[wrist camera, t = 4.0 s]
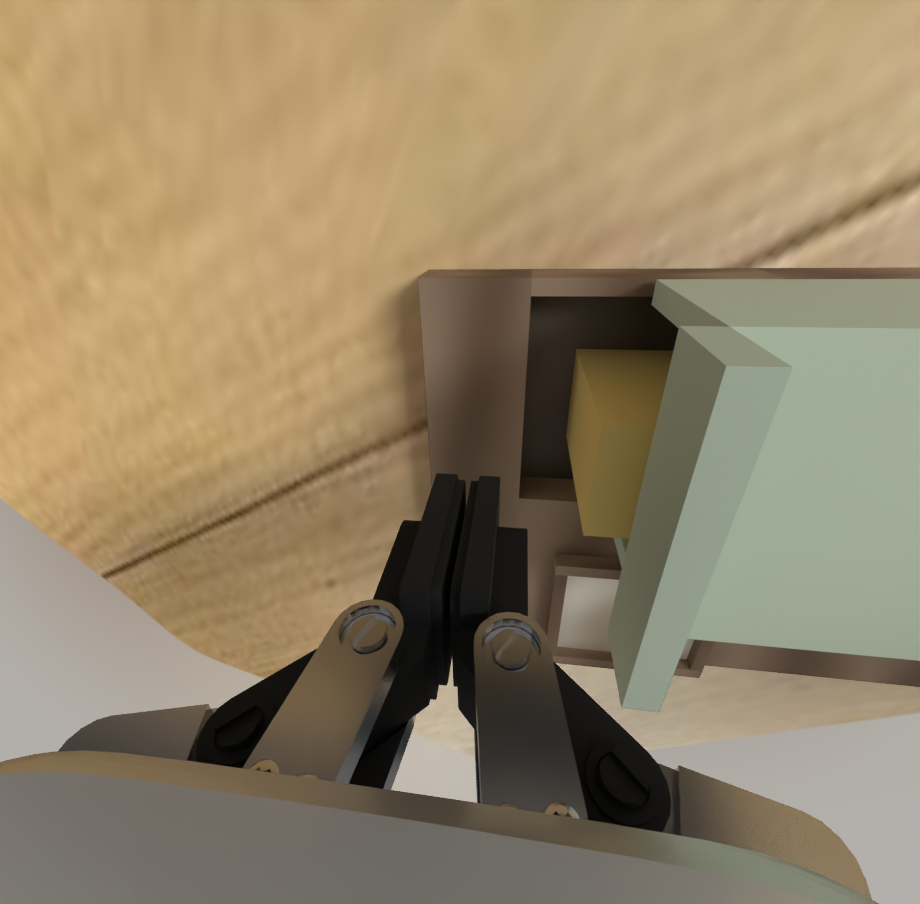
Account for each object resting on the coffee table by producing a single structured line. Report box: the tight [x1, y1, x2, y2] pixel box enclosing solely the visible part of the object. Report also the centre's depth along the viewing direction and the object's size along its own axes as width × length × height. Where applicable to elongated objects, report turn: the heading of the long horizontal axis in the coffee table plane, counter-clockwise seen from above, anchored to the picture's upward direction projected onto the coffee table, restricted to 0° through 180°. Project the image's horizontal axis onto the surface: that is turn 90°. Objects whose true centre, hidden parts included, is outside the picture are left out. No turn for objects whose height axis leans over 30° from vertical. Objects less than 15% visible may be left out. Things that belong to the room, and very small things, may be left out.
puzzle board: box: [418, 268, 920, 687], centre depth 19 cm, size 26×20×3 cm
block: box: [566, 349, 673, 539], centre depth 15 cm, size 4×4×7 cm
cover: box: [607, 279, 920, 712], centre depth 13 cm, size 10×10×8 cm
